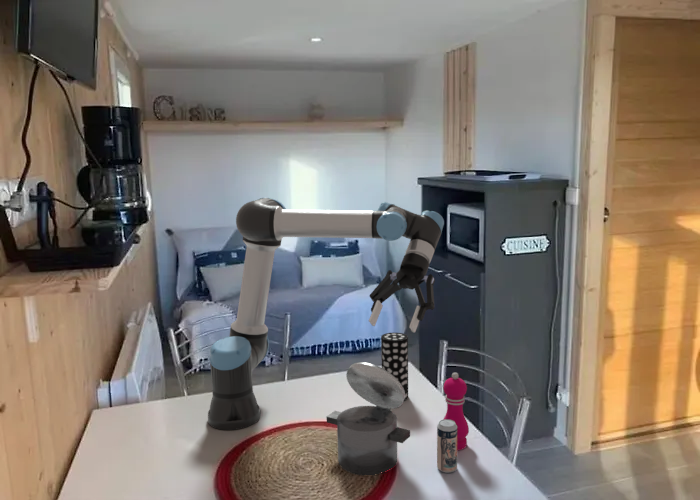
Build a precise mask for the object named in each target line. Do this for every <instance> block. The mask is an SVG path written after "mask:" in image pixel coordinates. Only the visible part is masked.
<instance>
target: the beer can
mask: <svg viewBox="0 0 700 500" xmlns="http://www.w3.org/2000/svg"><path fill="white" fill-rule="evenodd" d="M443 419H444V418H443ZM443 419H440V421H439V422H438V423H437V426H436V428H437V430H436V431H437V432H436V441H437V442H436V445H437V446H436V451H437V452H436V458H437V459H436V462H437V463H436V465H437V466H436V468H437V469H438V470H439V471H441V472H442V473H444V474H445V473H446V474H447V473H448V474H450V473H453V472H455V471H456V470H457V469H458V450H457V425H456V423H455V422H454V421H453V420H450V419H444V420H443Z"/></svg>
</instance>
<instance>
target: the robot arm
mask: <svg viewBox="0 0 700 500" xmlns="http://www.w3.org/2000/svg"><path fill="white" fill-rule="evenodd" d="M235 224H236V228H237V230H238V233H239V234H240V235H241V236H242V241H243V243H244V244H245V245H246V249H245V256H244V263H243V271H242V279H241V285H240V292H239V300H238V307H237V314H236V320H235V321H233V322H232V323H231V324H230V328H229V335H228V336H227V337H226V336H225V337H223V338H220V339H218V340H217V341H215V342H213V344H212V345H211V346H210V350H209V363H210V377H211V391H212V398H211V400H210V405H209V410H208V412H207V423H208V424H209V426H210V427H212V428H214V429H217V430H223V431H234V430H240V429H241V430H242V429H245V428H248V427H250V426H253V425H254V424H255V423H257V422H258V421H259V419H260V418H261V408H260V406H259V404H258V402H257V398H256V396H255V393H254V390H253V389H254V387H253V384H254V383H253V371H255V369H256V367H258V366H259V364H260V363H261V362H262V361H263V360H265V358H266V356H267V354H268V351H269V349H270V340H269V337H268V332H269V328H268V326H267V325H266V324H265V320H266V314H267V313H266V312H267V305H268V298H269V291H270V288H271V287H270V285H271V278H272V271H273V266H274V265H273V264H274V260H275V258H274V257H275V252H276V250H277V249H278V248H280V247H281V244H282V239H283V238H324V239H325V238H332V239H333V238H335V239H337V238H338V239H340V238H341V239H347V238H349V239H378V240H379V239H381V240H382V239H383V240H386V241H388V242H389V241H390V242H392V241H397V240H399V239H400V238H401V237H404V238H406V239H409V240H410V241H409V243H408V246H407V248H406V250H405V253H404V256H403V258H402V261H401V263H400V267H399V270H398V271H397V272H393V271H392V270H391V269H389V270H387V273H386V274H385V276H384V278H383V279H382V280H381V281H380V282H379V283H378V284H377V285H376V287H375V288H374V289H373V291H372V292H371V293H370V294H369V298H370V299H371V301H372V302H373V303H372V305H371V308H370V311H371V314H370V317H369V318H368V322H369V323H370V324H371V326H372V327H375V326H376V324H377V321H378V319H379V317H380V314H381V311H382V309H383V303H384V302H386V300H388V299H389V298H390V297H392V296H393V295H394V294H396V292H398V291H400V290H402V289H403V290H405V289H407V290H408V289H409V290H414V291H415V294H416V297H417V299H418V303H419V305H416V307H415V310H414V313H413V316H412V317H411V321H410V323H409V326H408V327H409V329H410V331H411V333H416V331H417V329H418V327H419V323H420V321H421V322H422V321H423V320H424V318H425V314H426V313H427V311H429V310H431V311H433V310H434V309H435V299H434V298H435V297H434V295H435V294H434V293H435V292H434V285H435V282H436V279H435V278H434V276H433V274H431V273H429V274H428V275H427V273H428V270H429V267H430V263H431V261H432V259H433V256H434V254H435V251H436V248H437V246H438V243H439V240H440V238H441V235H442V233H443V232H442V231H443V228H444V225H445V220H444V218H443V216H442V215H441V214H440V213H438V212H437V211H433V210H431V211H430V210H423V211H422V212H421V213H420V214H417V213H414V212H412V211H410V210H407V209H405V208H402V207H401V206H400V207H399V206H397V205H396V204H395V203H389V202H387V201H382V202H381V203H380V205H379V208H378V209H377V210H348V209H347V210H339V209H338V210H337V209H335V210H334V209H333V210H332V209H331V210H330V209H326V210H325V209H287V208H286V207H285V205H284V204H283V203H282V202H281V201H279V200H278V199H276V198H271V197H261V198H259V199H256V200H251V201H248V202H246V203H244V204H243V205H242V206H241V207H240V208H239V210H238V211H237V214H236V217H235ZM424 282H425V285H426V288H425V289H426V301H425V298H424V294H423V292H422V288H421V286H420V285H421V284H423V283H424Z"/></svg>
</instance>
